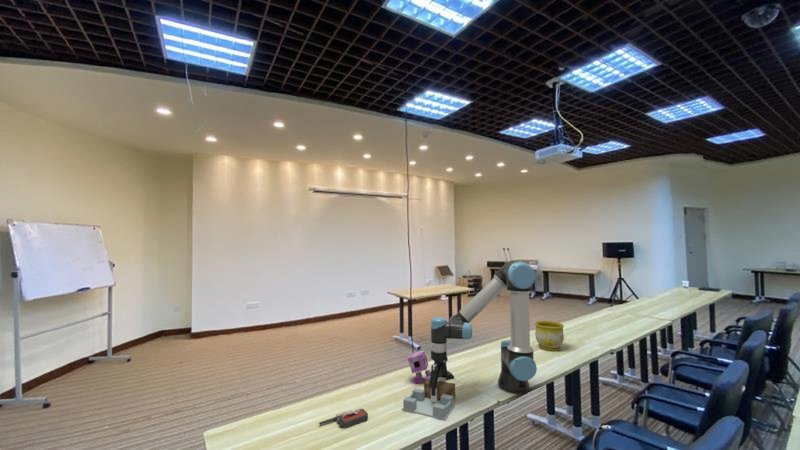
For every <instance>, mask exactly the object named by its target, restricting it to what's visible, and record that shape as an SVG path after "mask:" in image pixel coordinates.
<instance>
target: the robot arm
mask: <svg viewBox="0 0 800 450" xmlns="http://www.w3.org/2000/svg"><path fill="white" fill-rule="evenodd" d="M535 281H536V272H535V270H534V269H533V268H532V266H530V265H529V264H528V263H527V262H524V261H519V260H513V259H512V260H510V261H507V262H506V263H505V264H503V265H502V266H501V267H500V268H499V270H497V272H496V273H495V274H494V275H493V278H492V279H491V280H490V281H489V282H488V283H487V284H486V285H485V286H484V287H483V288H482V289H481V290H479V292H478V293H477V294H476V295H474V297H472V298H471V300H470V301H468V302H467V303H466V305H464V306H463V307H462V308H461V309H460V310H459V311H458V312H457V313H456V314H454V315H451V317H450V318H449V321H448V320H447V318H445V317H441V316H438V317H432V319H431V321H430V322H431V323H430V343H429V344H430V350H431V351H430V359H431V360H432V361H433V364H432V365H431V366H430V371H431V376H430V383H429V388H431V399H430V400H431V402H434V403H437V401H438V400H437V388H436V386H437V381H439V380H438V376H439V374H441V377H440V381H442V382H447V380H446V378H448V375H447V374H448V372H447V371H448V366H447V361H446V359H447V357H448V354H447V353H448V352H447V350H448V347H447V346H448V343H447V340H448V339H451V340H471V339H472V338H473V326H472V323H471V322H472V321H473V320H475V318H476V317H477V316H479V314H480V313H482V311H483V310H484V309H485V308H487V307H488V306H489V305H490V304H491V303H492V302H493V301H494V300H495V299H496V298H498V296H499V295H501V294H502V293H503V291H504V290H506V291H507V292H508V293H509V314H510V315H509V316H510V317H509V318H510V319H509V322H510V323H509V325H510V339H507V340H502V341H501V343H500V363H501V365H500V367H501V368H500V373H499V377H498V380H497V387H498V388H499V389H500V390H502V391H504V392H507V393H509V394H510V393H511V394H524V393H527V392H529V391H530V383H529V381H530V380H532V379H533V378H534V377H535V376H536V373H537V369H538V368H537V364H536V360H534V348H533V347H532V346H531V343H530V342H531V341H530V340H531V336H530V335H531V334H530V333H531V332H530V330H531V329H530V326H531V325H530V324H531V323H530V294H531V293H532V292H533V285H534V283H535Z"/></svg>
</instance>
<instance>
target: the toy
mask: <svg viewBox="0 0 800 450" xmlns="http://www.w3.org/2000/svg"><path fill="white" fill-rule="evenodd" d="M407 361H408V365H409V367H410V371H411V373H412V374H415V376H414V378H413V380H414V383H415V384H419V383H421V382H422V378H423V374H422V372H423V371H424V375H425V377H424V382H425V381H426V380H427V379H430V376H431V369H428V367H429V362H428V359H427V355H426V353H425V350H424V349H423V350H420V351H416V352H413V353H410V354H409V355H408V357H407Z"/></svg>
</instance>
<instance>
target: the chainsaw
mask: <svg viewBox="0 0 800 450" xmlns="http://www.w3.org/2000/svg"><path fill="white" fill-rule="evenodd" d="M368 415H369V413H368V412H367V411H366V410H365V409H364V408H358V409H355V410H348V411H345V412H341V413H337V414H336V416H334V417H331V418H328V419H326V420H322V421H320V422H318V424H319V426H320V425H321V426H322V425H325V424H328V423H330V422H334V421H336V423H337V424H338V425H339V427H340V428H343V429H347V428H350V427H353V426H356V425H358V424H361V423H365V422H367V421H368V420H369V419H368V418H369V416H368Z"/></svg>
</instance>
